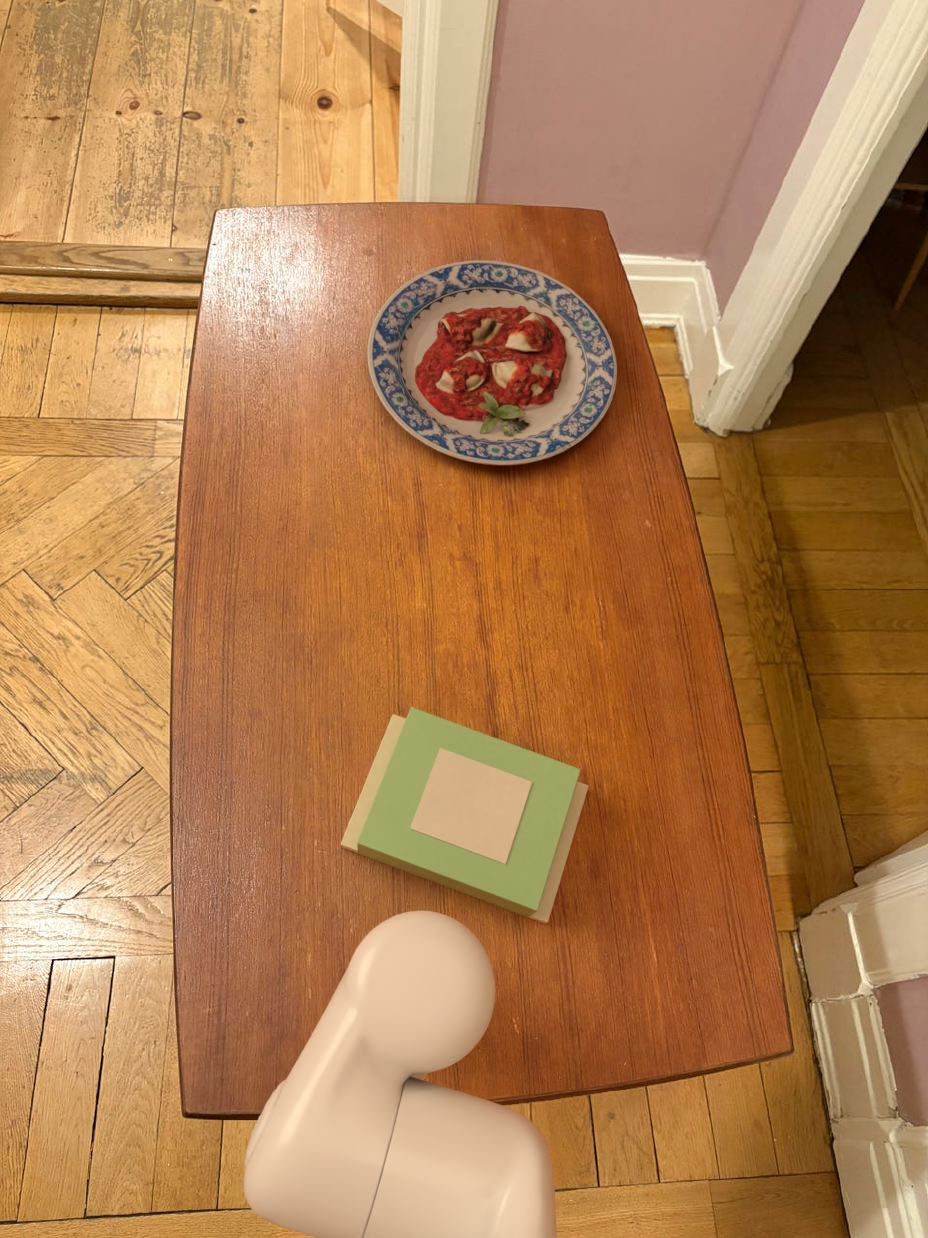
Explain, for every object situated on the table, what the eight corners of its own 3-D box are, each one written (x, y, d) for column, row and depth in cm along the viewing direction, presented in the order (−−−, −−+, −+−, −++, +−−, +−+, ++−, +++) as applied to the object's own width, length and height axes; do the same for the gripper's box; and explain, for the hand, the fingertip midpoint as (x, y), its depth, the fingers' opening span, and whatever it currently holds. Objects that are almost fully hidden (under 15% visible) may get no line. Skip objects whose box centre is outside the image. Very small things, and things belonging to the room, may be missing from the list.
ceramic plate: (392, 254, 104) (393, 233, 101) (622, 299, 105) (629, 279, 102) (344, 449, 94) (343, 431, 91) (599, 497, 94) (606, 481, 91)
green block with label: (545, 924, 78) (556, 918, 73) (340, 847, 78) (338, 836, 74) (586, 788, 82) (598, 774, 78) (392, 717, 83) (394, 699, 79)
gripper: (426, 1158, 53) (410, 1130, 70) (508, 898, 59) (475, 929, 76) (301, 1109, 53) (315, 1093, 70) (395, 856, 60) (388, 896, 76)
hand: (399, 1008), depth 73 cm, fingers closed
